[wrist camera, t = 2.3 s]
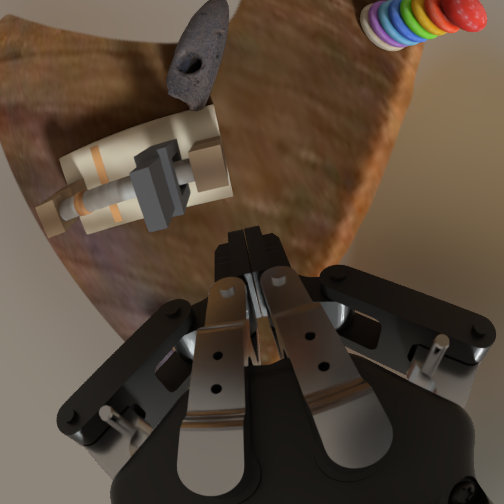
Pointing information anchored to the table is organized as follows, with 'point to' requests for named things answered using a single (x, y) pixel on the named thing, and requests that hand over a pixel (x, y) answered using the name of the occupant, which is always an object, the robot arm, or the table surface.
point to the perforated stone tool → (199, 55)
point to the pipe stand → (122, 163)
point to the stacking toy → (419, 20)
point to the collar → (159, 185)
